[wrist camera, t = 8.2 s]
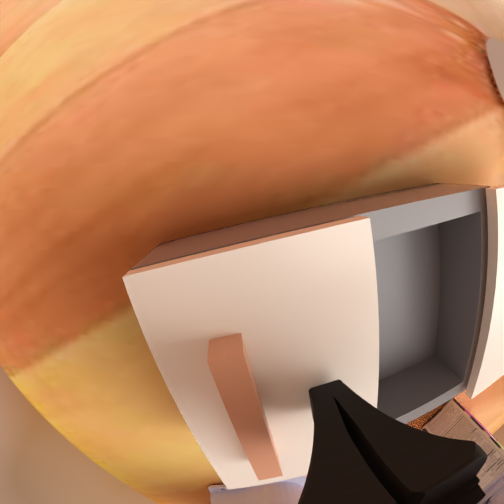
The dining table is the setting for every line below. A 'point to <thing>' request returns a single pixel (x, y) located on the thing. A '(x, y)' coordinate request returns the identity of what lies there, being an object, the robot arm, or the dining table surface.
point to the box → (401, 283)
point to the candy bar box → (468, 437)
